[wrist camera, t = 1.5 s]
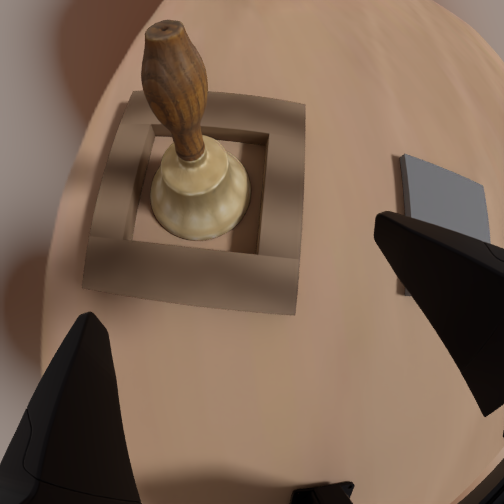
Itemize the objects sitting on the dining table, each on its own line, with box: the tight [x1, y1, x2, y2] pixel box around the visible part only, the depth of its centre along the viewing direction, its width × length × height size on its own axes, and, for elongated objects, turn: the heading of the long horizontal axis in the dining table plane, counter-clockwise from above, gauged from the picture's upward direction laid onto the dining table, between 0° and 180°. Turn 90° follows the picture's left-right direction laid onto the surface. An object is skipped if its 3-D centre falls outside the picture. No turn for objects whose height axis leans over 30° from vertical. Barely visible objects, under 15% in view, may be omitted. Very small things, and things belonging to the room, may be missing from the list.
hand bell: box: [141, 20, 251, 241], centre depth 14 cm, size 8×8×16 cm
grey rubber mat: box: [400, 154, 491, 296], centre depth 23 cm, size 14×14×1 cm
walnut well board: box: [82, 91, 305, 315], centre depth 21 cm, size 18×16×2 cm
